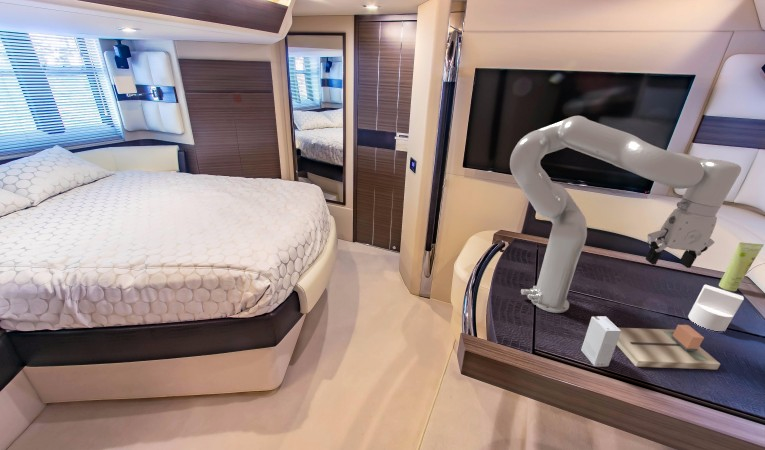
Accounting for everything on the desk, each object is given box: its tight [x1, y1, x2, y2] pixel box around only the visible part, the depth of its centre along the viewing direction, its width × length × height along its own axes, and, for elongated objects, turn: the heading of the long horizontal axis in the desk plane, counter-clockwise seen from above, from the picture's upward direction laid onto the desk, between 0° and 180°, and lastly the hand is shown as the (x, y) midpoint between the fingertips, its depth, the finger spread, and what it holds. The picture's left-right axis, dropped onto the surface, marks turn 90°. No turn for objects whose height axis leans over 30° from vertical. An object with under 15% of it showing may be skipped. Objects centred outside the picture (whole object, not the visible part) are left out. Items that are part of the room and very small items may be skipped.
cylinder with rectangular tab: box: [687, 284, 745, 332], centre depth 102 cm, size 9×9×12 cm
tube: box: [718, 242, 764, 292], centre depth 119 cm, size 6×5×20 cm
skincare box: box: [581, 315, 621, 368], centre depth 86 cm, size 6×4×12 cm
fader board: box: [616, 327, 721, 370], centre depth 92 cm, size 22×13×2 cm, turn 89°
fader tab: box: [671, 324, 705, 351], centre depth 90 cm, size 3×5×5 cm, turn 179°
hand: (667, 263), depth 90 cm, fingers open, 9 cm apart
